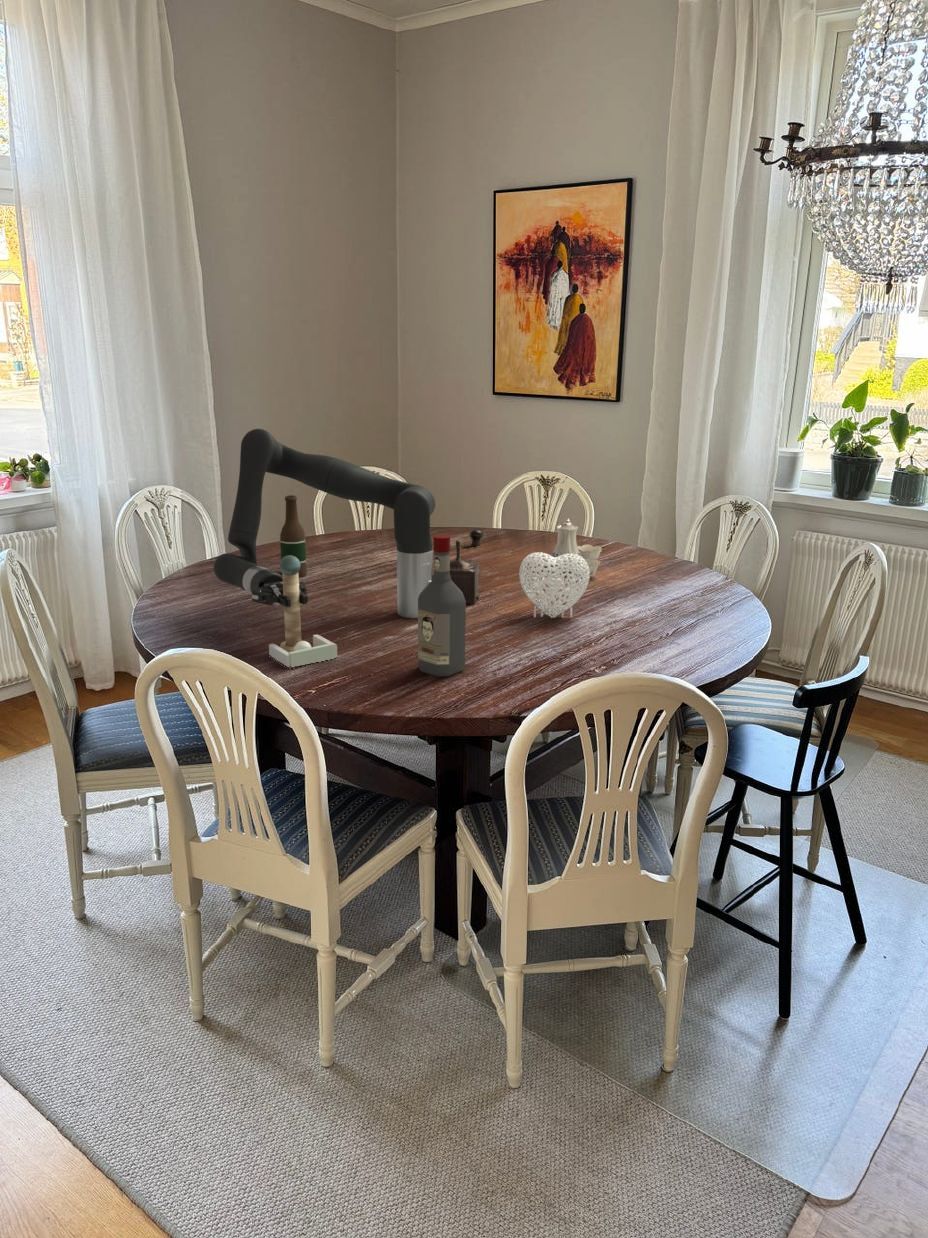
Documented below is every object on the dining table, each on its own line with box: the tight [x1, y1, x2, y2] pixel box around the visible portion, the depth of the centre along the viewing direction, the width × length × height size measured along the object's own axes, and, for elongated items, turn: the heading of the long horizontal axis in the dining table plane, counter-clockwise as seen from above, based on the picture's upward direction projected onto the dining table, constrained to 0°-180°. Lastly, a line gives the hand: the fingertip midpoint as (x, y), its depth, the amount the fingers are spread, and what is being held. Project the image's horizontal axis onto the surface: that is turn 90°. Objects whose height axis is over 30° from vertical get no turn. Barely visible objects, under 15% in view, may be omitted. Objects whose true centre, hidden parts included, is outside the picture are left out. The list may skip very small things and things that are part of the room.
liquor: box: [417, 534, 467, 678], centre depth 203 cm, size 9×9×30 cm
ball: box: [294, 640, 312, 651], centre depth 213 cm, size 4×4×4 cm
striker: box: [279, 555, 303, 652], centre depth 214 cm, size 6×6×23 cm
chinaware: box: [549, 517, 603, 580], centre depth 288 cm, size 28×17×17 cm, turn 175°
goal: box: [268, 634, 338, 667], centre depth 213 cm, size 10×12×4 cm
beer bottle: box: [279, 494, 307, 579], centre depth 278 cm, size 8×8×24 cm
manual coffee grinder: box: [450, 529, 484, 606], centre depth 259 cm, size 16×11×18 cm
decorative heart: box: [518, 551, 591, 619], centre depth 242 cm, size 18×11×17 cm, turn 83°
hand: (297, 601), depth 211 cm, fingers closed on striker, 3 cm apart
